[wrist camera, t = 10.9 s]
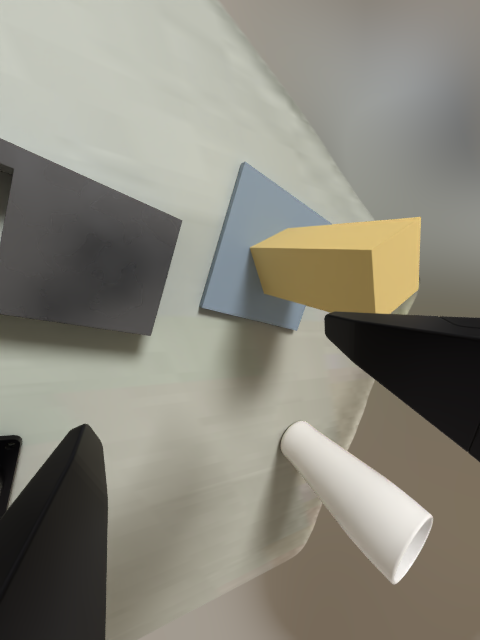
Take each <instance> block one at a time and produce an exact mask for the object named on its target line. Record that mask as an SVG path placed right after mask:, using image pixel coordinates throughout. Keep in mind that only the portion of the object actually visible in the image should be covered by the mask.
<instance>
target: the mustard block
mask: <svg viewBox="0 0 480 640" xmlns="http://www.w3.org/2000/svg"><path fill="white" fill-rule="evenodd" d="M420 227H421V217H416V218H404V219H393V220H392V219H391V220H380V221H368V222H356V223H344V224H332V225H320V226H308V227H296V228H287V229H285V230H283V231H281V232H279V233H277V234H275V235H273V236H271V237H269V238H267V239H266V240H264V241H262V242H260V243H258V244H256V245H254V246H252V247H250V250H251V254H252V257H253V260H254V263H255V266H256V270H257V273H258V276H259V279H260V282H261V286H262V289H263V292H264V294H267V295H271V296H274V297H278V298H281V299H285V300H288V301H292V302H296V303H299V304H303V305H306V306H310V307H313V308H317V309H320V310H324V311H327V312H334V311H337V312H358V313H379V314H390V313H391V312H392V311H394V310H395V309H396V308H397V307H398V306H399V305H401V304H402V303H403V302H404V301H405V300H406V299H408V298H409V297H410V296H411V295H412V294H413V293H415V292H416V291H417V290H418V283H419V255H420Z"/></svg>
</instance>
